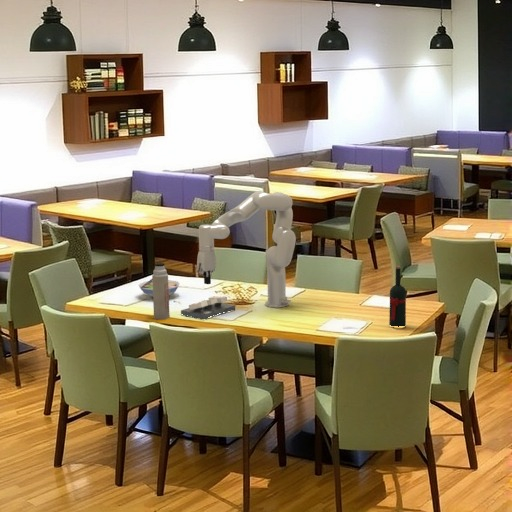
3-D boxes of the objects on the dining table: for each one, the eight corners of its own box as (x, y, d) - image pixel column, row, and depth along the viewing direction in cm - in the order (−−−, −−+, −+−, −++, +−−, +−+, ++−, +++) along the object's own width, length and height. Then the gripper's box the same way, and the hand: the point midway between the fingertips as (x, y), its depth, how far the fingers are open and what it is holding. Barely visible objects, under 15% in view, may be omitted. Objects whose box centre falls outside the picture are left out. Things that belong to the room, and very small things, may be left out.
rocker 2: (217, 302, 491) (216, 297, 491) (211, 304, 488) (210, 299, 488) (205, 305, 497) (204, 300, 497) (199, 306, 494) (198, 302, 494)
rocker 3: (227, 301, 497) (226, 296, 497) (221, 302, 494) (221, 298, 494) (214, 300, 503) (214, 296, 503) (208, 302, 500) (208, 297, 499)
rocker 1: (207, 305, 486) (206, 300, 486) (201, 307, 482) (200, 302, 482) (195, 308, 492) (194, 303, 492) (189, 309, 488) (188, 304, 488)
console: (235, 310, 498) (235, 303, 497) (203, 319, 480) (203, 312, 479) (212, 305, 508) (212, 298, 507) (181, 315, 490) (180, 307, 489)
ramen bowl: (171, 303, 514) (170, 288, 513) (132, 301, 520) (131, 286, 518) (186, 292, 538) (186, 278, 536) (148, 291, 544) (148, 277, 542)
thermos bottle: (172, 316, 488) (170, 262, 482) (163, 320, 481) (161, 265, 475) (160, 314, 492) (158, 261, 486) (150, 318, 485) (148, 264, 479)
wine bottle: (384, 328, 458) (385, 267, 452) (393, 323, 466) (393, 263, 460) (399, 330, 454) (400, 269, 448) (408, 325, 462) (409, 265, 456)
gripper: (211, 245, 495) (212, 280, 499) (191, 250, 484) (192, 285, 488) (221, 247, 491) (222, 282, 494) (201, 251, 479) (202, 287, 483)
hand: (207, 283), depth 491 cm, fingers closed
